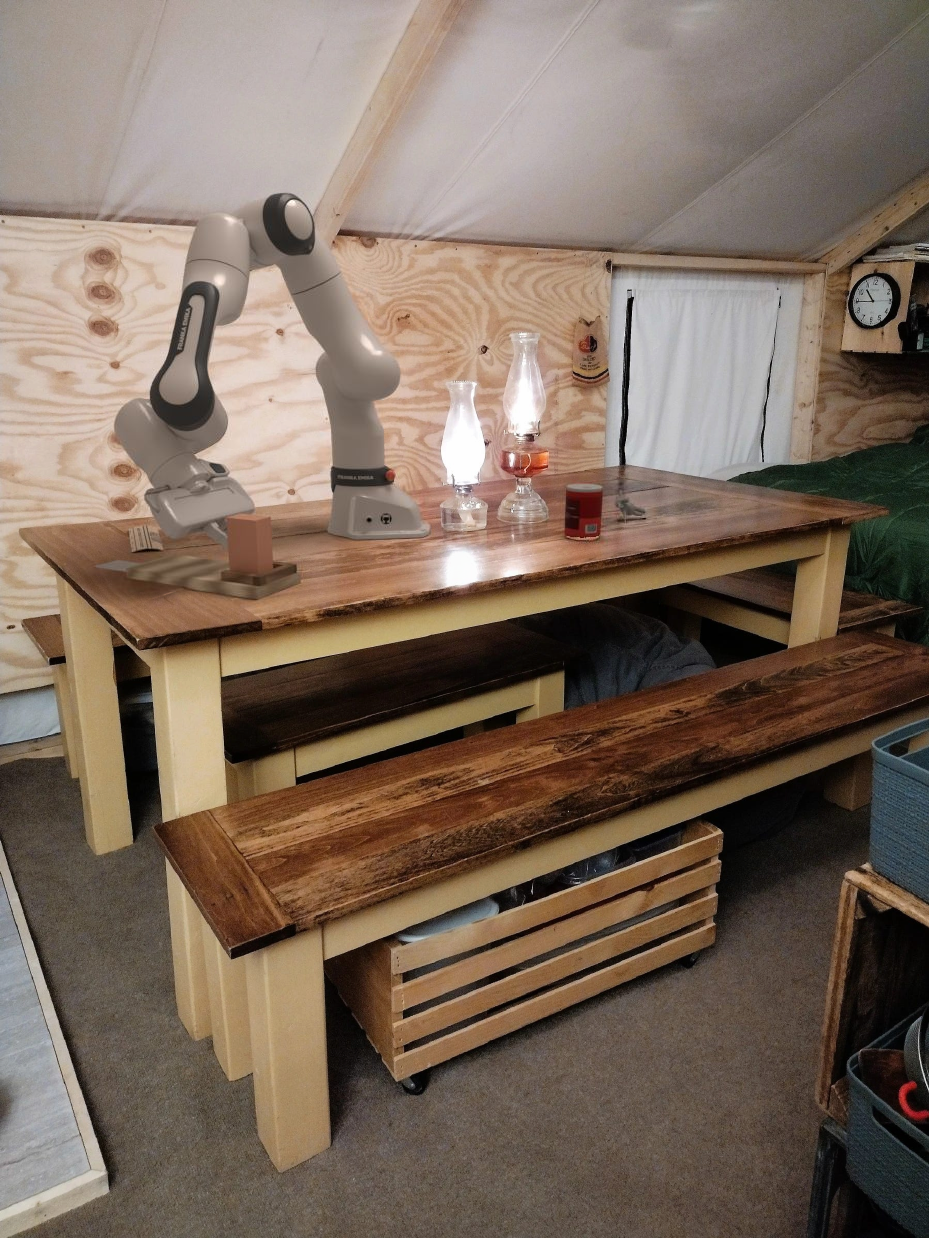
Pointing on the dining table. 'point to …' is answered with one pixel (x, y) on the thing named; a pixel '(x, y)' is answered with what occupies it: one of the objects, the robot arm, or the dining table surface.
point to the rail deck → (215, 576)
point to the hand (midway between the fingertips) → (233, 545)
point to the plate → (117, 565)
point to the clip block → (249, 543)
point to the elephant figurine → (628, 506)
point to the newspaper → (144, 538)
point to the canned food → (583, 510)
